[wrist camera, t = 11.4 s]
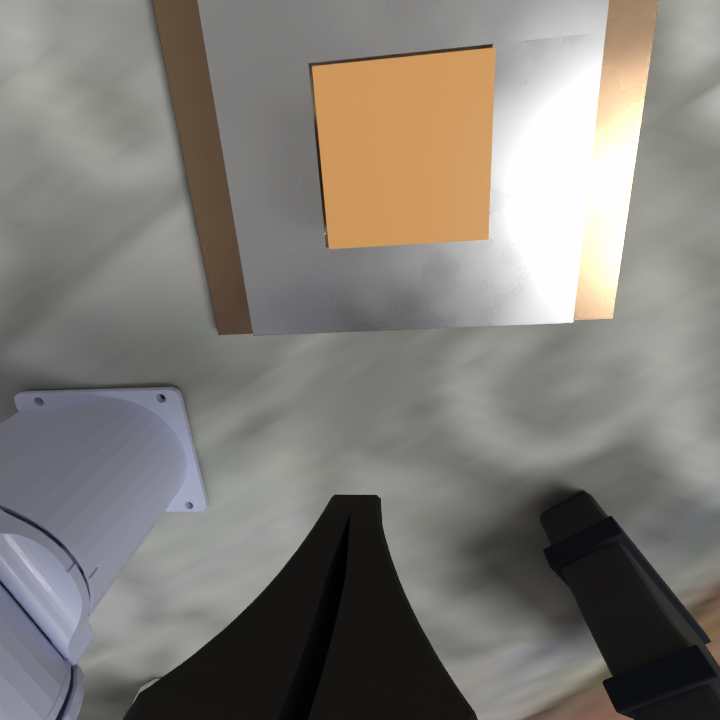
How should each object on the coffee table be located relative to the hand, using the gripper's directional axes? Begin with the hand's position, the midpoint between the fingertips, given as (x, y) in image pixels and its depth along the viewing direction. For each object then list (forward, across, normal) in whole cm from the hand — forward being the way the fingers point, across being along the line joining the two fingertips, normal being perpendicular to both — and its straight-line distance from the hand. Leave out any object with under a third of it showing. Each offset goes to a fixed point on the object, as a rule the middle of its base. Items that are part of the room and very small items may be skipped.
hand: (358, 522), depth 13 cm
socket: (+10, -2, -10) cm, 15 cm away
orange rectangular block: (+10, -2, -10) cm, 14 cm away
